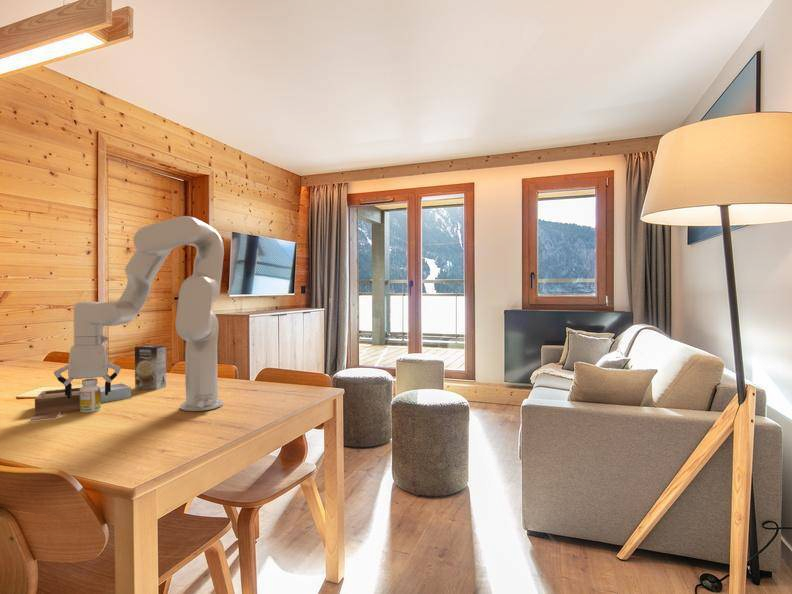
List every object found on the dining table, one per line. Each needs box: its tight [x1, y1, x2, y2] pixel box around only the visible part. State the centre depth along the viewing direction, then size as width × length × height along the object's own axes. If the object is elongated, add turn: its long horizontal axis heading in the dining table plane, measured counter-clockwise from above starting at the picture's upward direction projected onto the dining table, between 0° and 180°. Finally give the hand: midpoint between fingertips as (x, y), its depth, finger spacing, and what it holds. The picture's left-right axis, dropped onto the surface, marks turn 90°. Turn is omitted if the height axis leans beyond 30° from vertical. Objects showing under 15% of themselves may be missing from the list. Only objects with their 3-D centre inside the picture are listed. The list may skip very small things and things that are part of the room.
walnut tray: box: [34, 387, 81, 414], centre depth 144 cm, size 12×12×5 cm
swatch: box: [27, 412, 62, 423], centre depth 134 cm, size 7×7×1 cm
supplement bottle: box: [79, 378, 102, 414], centre depth 141 cm, size 5×5×10 cm
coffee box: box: [134, 344, 167, 391], centre depth 172 cm, size 9×6×16 cm
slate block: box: [100, 382, 132, 404], centre depth 156 cm, size 9×9×4 cm
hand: (88, 395), depth 141 cm, fingers open, 9 cm apart
